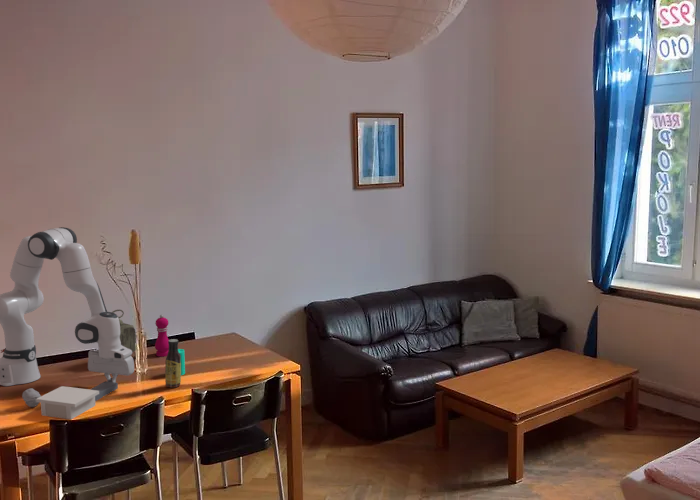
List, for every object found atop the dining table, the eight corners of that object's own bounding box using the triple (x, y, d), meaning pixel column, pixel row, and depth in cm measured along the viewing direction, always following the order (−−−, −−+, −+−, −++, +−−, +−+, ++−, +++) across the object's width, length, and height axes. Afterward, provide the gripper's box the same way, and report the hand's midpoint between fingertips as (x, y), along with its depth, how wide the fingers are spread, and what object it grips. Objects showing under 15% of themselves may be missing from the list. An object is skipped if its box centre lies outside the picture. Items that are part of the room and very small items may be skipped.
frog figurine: (30, 402, 260) (29, 385, 259) (45, 404, 258) (44, 387, 257) (19, 408, 254) (17, 390, 253) (34, 410, 252) (33, 392, 251)
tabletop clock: (126, 356, 318) (124, 305, 314) (138, 360, 313) (136, 308, 309) (100, 364, 306) (97, 311, 302) (112, 368, 301) (109, 314, 297)
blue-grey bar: (90, 405, 259) (89, 398, 259) (76, 403, 261) (76, 396, 260) (117, 389, 276) (117, 382, 276) (105, 388, 278) (105, 381, 277)
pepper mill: (164, 351, 326) (162, 311, 323) (173, 354, 322) (172, 314, 319) (152, 355, 320) (150, 314, 317) (161, 358, 316) (160, 317, 313)
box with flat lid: (37, 414, 248) (36, 398, 247) (62, 401, 262) (61, 386, 261) (75, 420, 244) (74, 404, 243) (99, 406, 257) (99, 390, 256)
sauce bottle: (162, 387, 278) (160, 341, 275) (171, 382, 284) (170, 337, 281) (175, 389, 275) (174, 343, 272) (184, 384, 281) (183, 339, 278)
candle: (179, 370, 299) (178, 344, 297) (187, 373, 295) (187, 347, 293) (168, 374, 294) (167, 347, 292) (176, 377, 290) (175, 350, 288)
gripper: (83, 351, 275) (85, 383, 277) (126, 355, 270) (128, 388, 272) (93, 346, 281) (94, 378, 283) (135, 351, 276) (137, 382, 278)
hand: (111, 383), depth 278 cm, fingers closed
